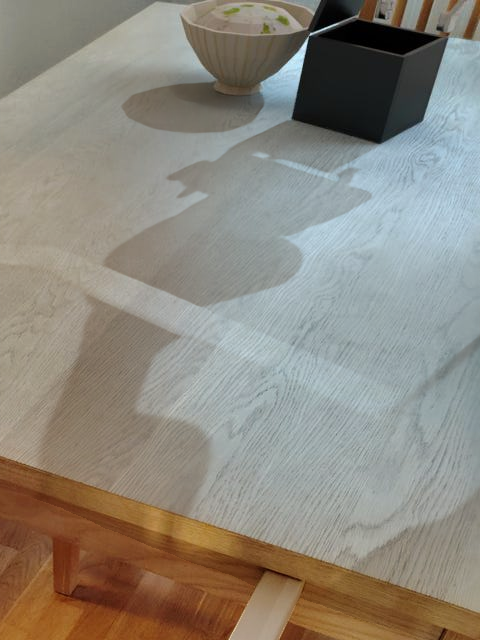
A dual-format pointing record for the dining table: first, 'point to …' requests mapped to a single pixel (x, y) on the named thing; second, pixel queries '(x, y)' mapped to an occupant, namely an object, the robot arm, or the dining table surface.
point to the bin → (368, 78)
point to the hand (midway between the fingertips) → (412, 24)
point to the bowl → (245, 39)
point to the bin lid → (334, 13)
